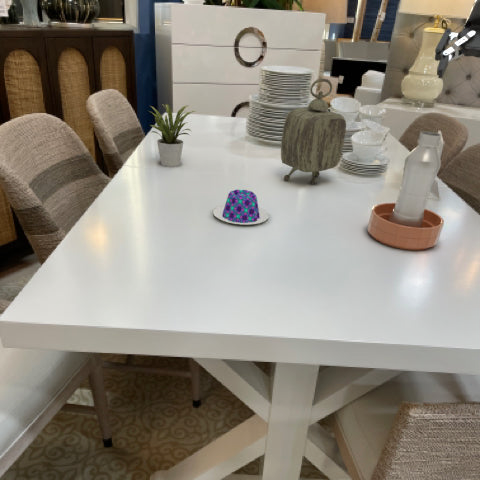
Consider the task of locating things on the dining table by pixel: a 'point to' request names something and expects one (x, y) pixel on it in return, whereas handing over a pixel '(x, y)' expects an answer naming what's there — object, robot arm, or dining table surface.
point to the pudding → (241, 209)
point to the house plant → (170, 136)
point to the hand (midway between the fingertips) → (461, 77)
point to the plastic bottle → (417, 181)
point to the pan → (404, 229)
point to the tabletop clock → (313, 137)
